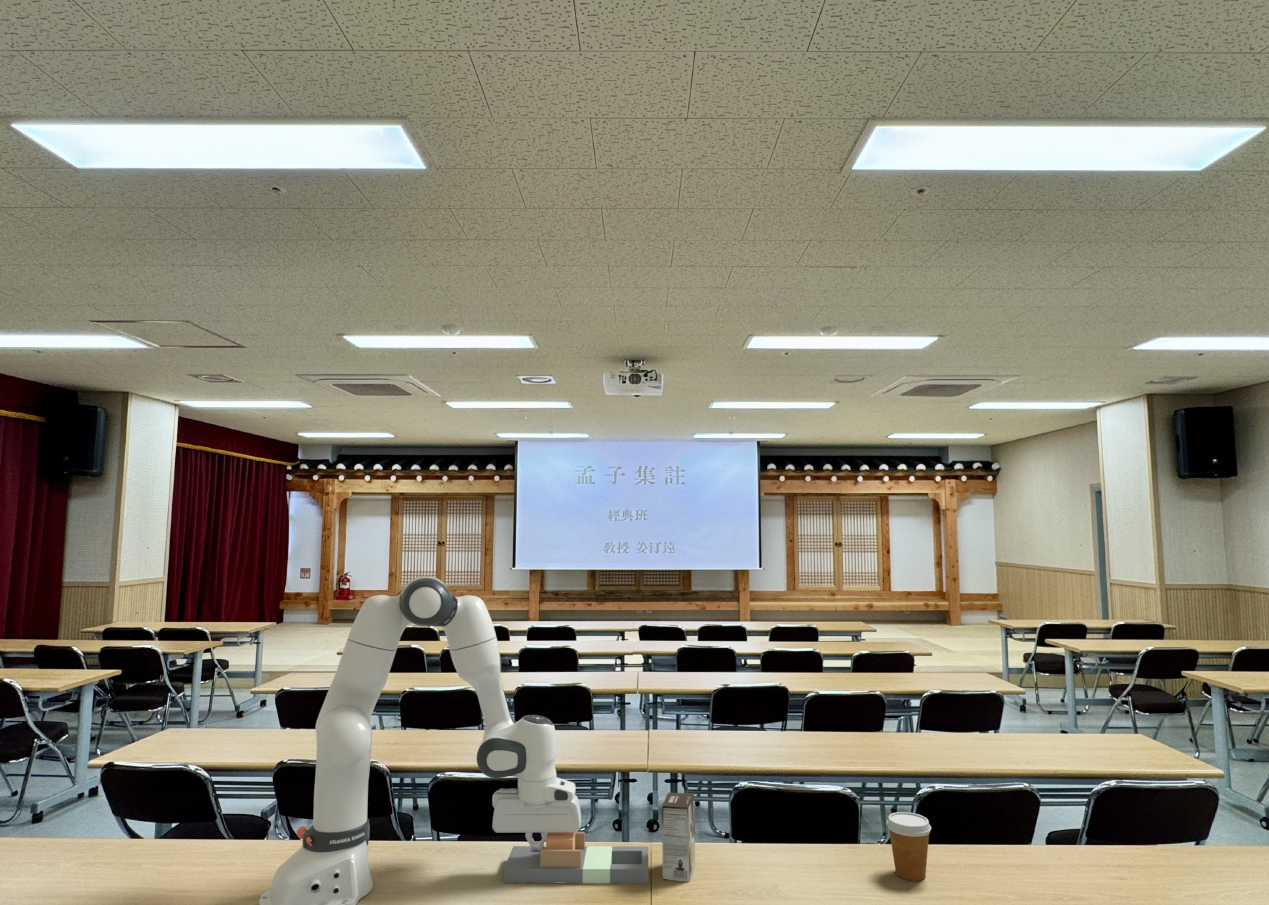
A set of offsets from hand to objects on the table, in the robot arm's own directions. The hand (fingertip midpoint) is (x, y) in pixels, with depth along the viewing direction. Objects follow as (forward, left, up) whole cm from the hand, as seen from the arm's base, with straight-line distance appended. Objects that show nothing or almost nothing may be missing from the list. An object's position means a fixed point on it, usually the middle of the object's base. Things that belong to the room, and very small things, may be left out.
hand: (536, 851), depth 174 cm
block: (+4, -3, -1) cm, 6 cm away
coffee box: (+26, -20, -5) cm, 33 cm away
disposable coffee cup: (+67, -52, -5) cm, 85 cm away
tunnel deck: (+8, -6, -4) cm, 10 cm away
